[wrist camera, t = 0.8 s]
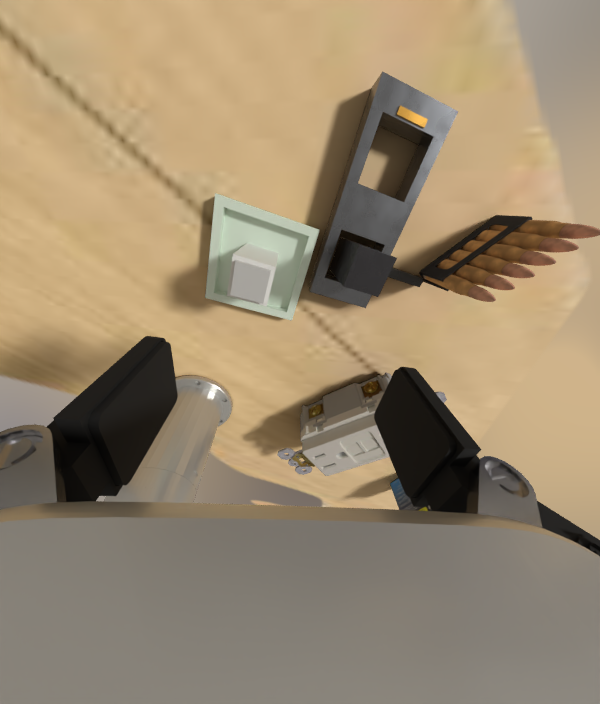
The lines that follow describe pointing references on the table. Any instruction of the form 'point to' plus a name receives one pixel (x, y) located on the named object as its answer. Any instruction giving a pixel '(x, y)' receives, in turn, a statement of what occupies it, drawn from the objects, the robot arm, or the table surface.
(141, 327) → the table surface
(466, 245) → the ammunition clip
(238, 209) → the tray
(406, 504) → the label tape box
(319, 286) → the dark grey holder base
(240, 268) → the grey rectangular block
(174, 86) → the table surface
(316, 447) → the electrical outlet
